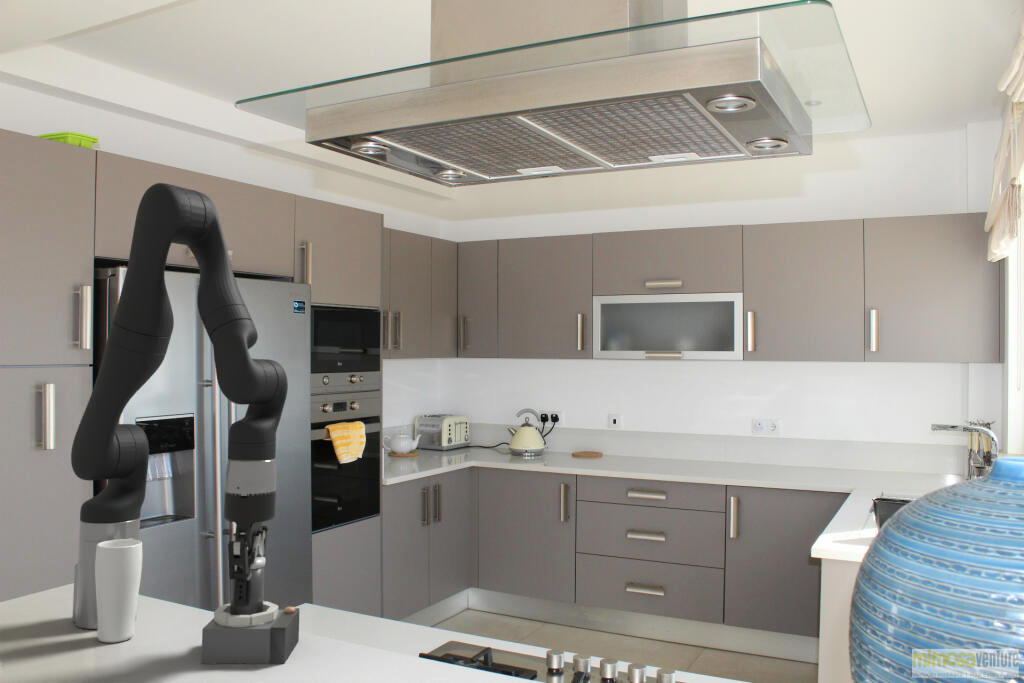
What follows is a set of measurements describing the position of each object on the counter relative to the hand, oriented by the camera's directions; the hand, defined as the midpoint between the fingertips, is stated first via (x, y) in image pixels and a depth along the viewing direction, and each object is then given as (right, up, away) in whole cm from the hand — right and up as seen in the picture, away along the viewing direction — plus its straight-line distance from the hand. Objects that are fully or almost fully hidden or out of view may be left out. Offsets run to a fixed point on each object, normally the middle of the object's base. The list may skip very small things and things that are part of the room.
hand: (246, 600), depth 124 cm
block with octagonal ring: (+1, -8, 0) cm, 8 cm away
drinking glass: (-22, -8, +5) cm, 24 cm away
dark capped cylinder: (0, -2, 0) cm, 2 cm away
